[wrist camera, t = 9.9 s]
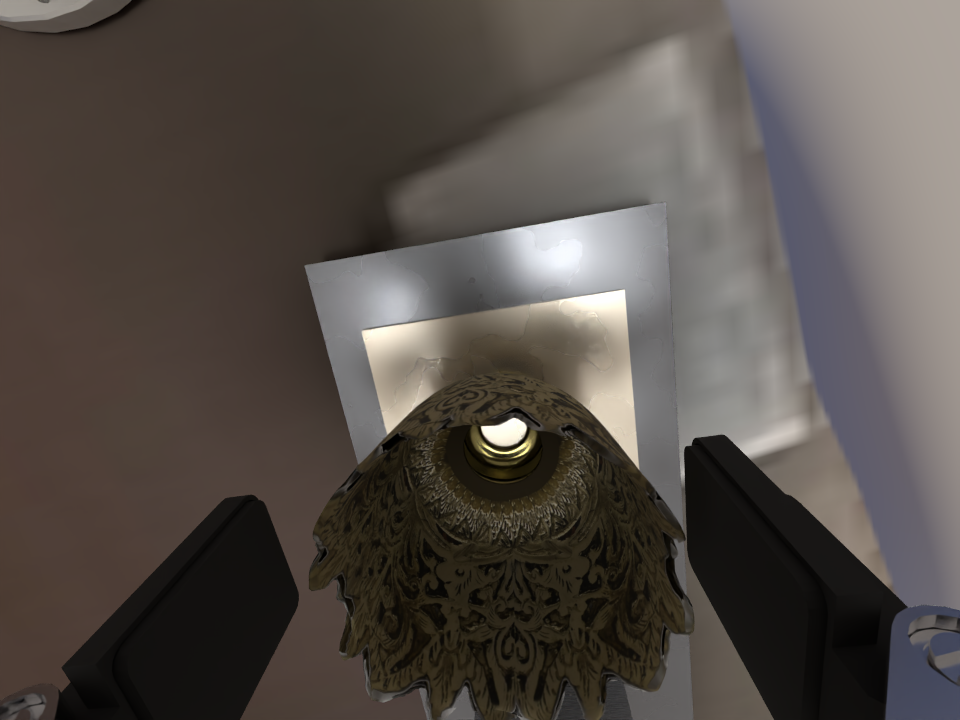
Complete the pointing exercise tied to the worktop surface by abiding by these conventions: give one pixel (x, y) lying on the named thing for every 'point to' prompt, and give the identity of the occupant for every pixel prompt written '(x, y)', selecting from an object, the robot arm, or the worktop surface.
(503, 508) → the dark brown rounded piece
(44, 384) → the worktop surface
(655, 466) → the base
